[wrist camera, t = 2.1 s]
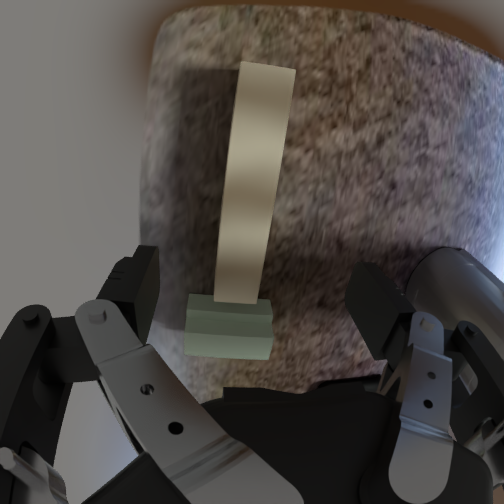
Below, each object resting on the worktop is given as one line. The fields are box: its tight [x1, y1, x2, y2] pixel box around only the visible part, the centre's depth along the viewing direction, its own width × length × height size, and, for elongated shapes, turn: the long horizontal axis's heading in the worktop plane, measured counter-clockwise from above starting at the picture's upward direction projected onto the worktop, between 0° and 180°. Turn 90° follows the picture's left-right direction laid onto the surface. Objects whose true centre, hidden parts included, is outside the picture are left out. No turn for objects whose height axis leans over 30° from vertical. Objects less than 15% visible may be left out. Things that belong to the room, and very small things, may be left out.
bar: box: [214, 61, 296, 304], centre depth 22 cm, size 18×4×4 cm, turn 172°
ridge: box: [184, 293, 274, 360], centre depth 28 cm, size 5×8×4 cm, turn 82°
